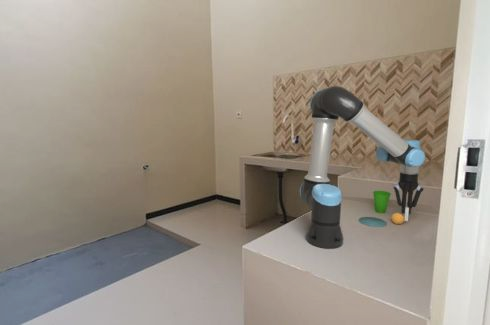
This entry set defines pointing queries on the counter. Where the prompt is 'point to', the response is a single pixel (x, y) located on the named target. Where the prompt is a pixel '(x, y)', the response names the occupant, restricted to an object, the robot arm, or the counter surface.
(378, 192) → the green tapered cylinder
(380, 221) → the teal ellipsoid
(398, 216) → the ball
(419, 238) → the counter surface
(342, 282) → the counter surface
